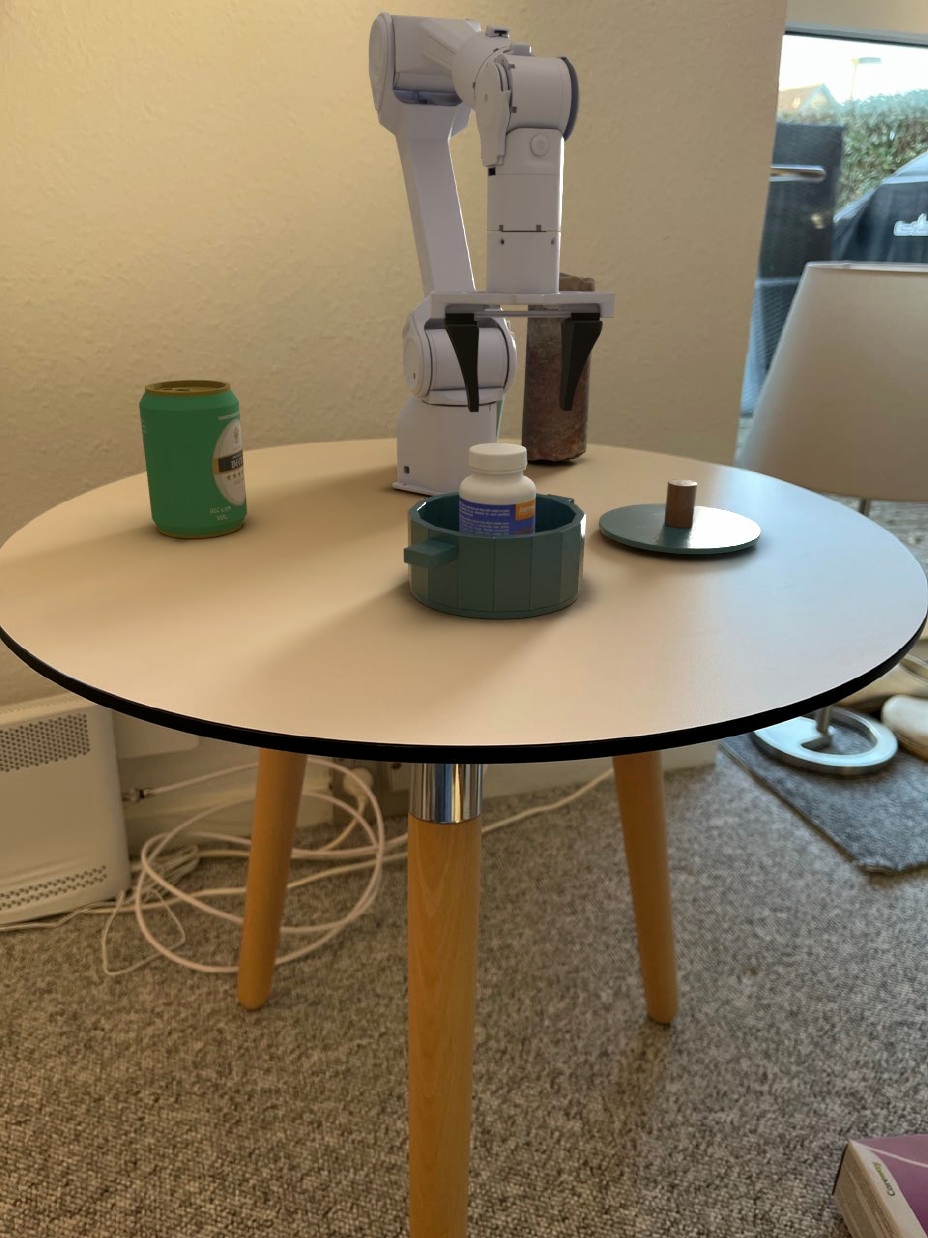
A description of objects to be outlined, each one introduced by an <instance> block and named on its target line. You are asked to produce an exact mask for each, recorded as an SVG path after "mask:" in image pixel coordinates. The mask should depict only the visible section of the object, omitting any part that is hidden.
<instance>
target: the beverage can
mask: <svg viewBox="0 0 928 1238" xmlns="http://www.w3.org/2000/svg"><path fill="white" fill-rule="evenodd" d="M138 408H139V416H140V425H141V426H140V427H141V434H142V443H143V451H144V452H143V453H144V462H145V469H146V478H147V479H146V480H147V487H148V494H149V497H148V498H149V505H150V514H151V520H152V521H153V522H154V524H155V525H156V526H157V527H158V531H159V532H160V533H161V534H162V535H164V536H167V537H173V538H177V539H204V538H205V539H206V538H214V537H221V536H224V535H229V534H231V533H235V532H236V531H238V530H240V529H241V528H242V527H243V524H244V523H243V522H244V520H245V518H246V516H247V514H248V506H247V492H246V480H245V478H246V477H245V466H244V465H245V464H244V451H243V440H242V426H241V413H240V411H241V410H240V401H239V399H238V397H237V396H236V394H235V393H234V392H233V390H232V389H231V384H230V383H229V382H226V381H222V380H214V379H213V380H212V379H179V380H166V381H158V382H153V383H149V384H147V385H145V386H144V392H143V394H142V397H141V399H140V401H139V402H138Z"/></svg>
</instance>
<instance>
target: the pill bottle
mask: <svg viewBox="0 0 928 1238" xmlns="http://www.w3.org/2000/svg"><path fill="white" fill-rule="evenodd" d="M527 465H528V460H527V453H526V448H525V447H523V446H521V445H520V444H517V443H516V444H515V443H507V442H498V443H486V444H479V445H475V446H472V447H471V448H470V449H469V468H470V469H471V470H472V475H471V476H468V477H467V478H465V479H464V480H463V481H462V483H461V485H460V489H459V532H461V533H472V534H485V535H518V534H532V533H535V504H536V493H537V489H536V484H535V483H534V481H533V480H532V479H531V478H530V477H528V476H526V475H524V471H526V469H527Z"/></svg>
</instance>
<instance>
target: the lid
mask: <svg viewBox="0 0 928 1238" xmlns="http://www.w3.org/2000/svg"><path fill="white" fill-rule="evenodd" d="M697 487H698V483H697V482H696V481H694V480H689V479H679V478H678V479H671V480H668V481H667V487H666V497H665V503H663V502H661V503H642V504H632V505H625V506H621V507H617V508H614V509H610V510H608V511H606V512H604V513H603V514H602V515H601V516H600V517H599V520H598V528H599V531H600V532H601V533H602V534H603V535H604V536H606V537H607V538H609V539H611V540H613V541H615V542H618V543H621V544H623V545H627V546H630V547H633V548H638V549H643V550H646V551H647V550H648V551H652V552H653V551H654V552H658V553H659V552H660V553H666V554H667V553H668V554H674V555H675V554H677V555H712V554H713V555H714V554H723V553H731V552H736V551H740V550H744V549H746V548H750V547H752V546H753V545H755V544H756V543H757V542H759V540H760V535H761V529H760V526H758V524H757V523H756V522H755V521H753V520H751V519H749V518H747V517H745V516H743V515H740V514H737V513H734V512H730V511H727V510H723V509H719V508H714V507H709V506H702V505H696V499H697V489H698V488H697Z"/></svg>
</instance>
